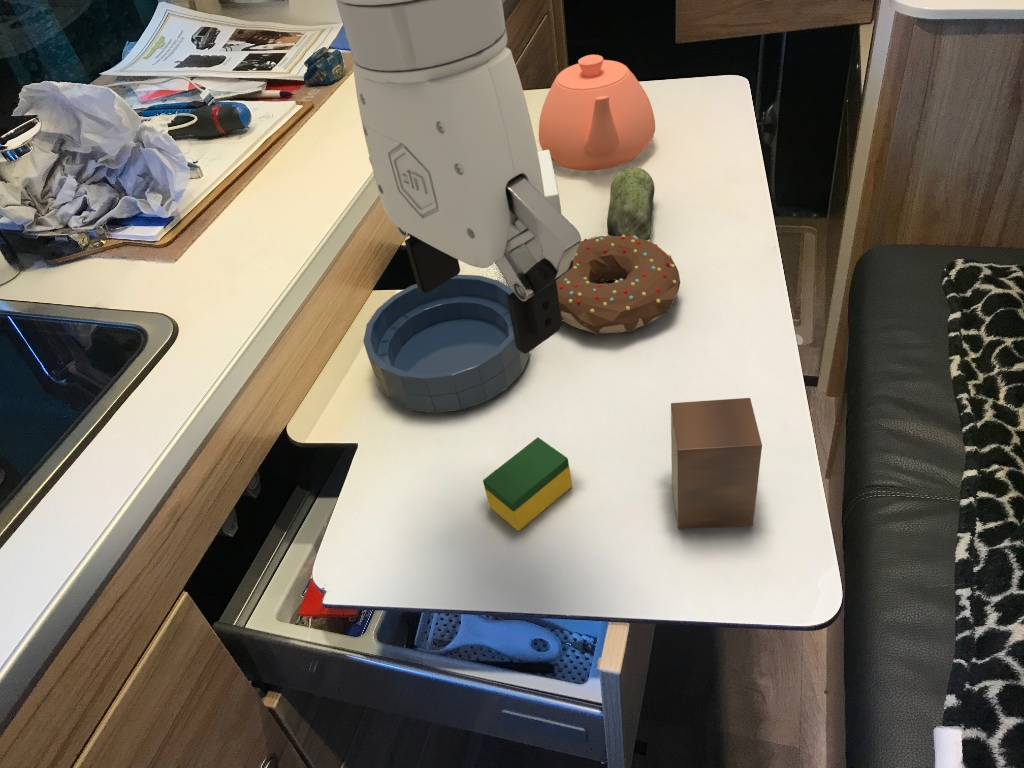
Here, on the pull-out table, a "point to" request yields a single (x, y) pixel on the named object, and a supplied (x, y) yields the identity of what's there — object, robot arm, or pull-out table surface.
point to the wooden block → (714, 462)
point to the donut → (617, 285)
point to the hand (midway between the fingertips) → (487, 309)
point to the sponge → (528, 483)
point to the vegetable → (631, 204)
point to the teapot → (595, 116)
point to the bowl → (445, 345)
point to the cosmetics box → (551, 195)
